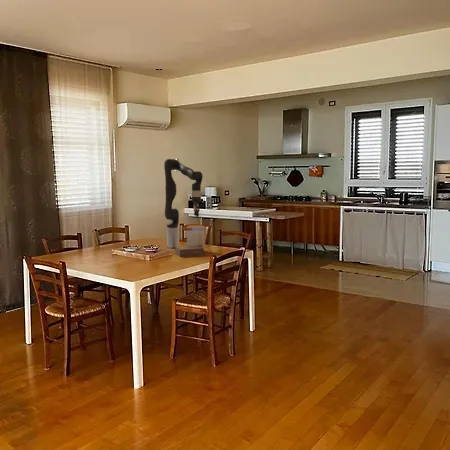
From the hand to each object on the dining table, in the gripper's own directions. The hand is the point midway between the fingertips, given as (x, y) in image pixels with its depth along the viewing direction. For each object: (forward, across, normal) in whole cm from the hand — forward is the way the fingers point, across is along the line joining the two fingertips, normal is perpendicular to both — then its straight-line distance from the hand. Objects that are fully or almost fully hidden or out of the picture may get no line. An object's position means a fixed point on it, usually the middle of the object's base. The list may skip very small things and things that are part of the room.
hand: (196, 216), depth 388 cm
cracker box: (+29, -1, 0) cm, 29 cm away
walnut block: (+30, +13, -8) cm, 33 cm away
